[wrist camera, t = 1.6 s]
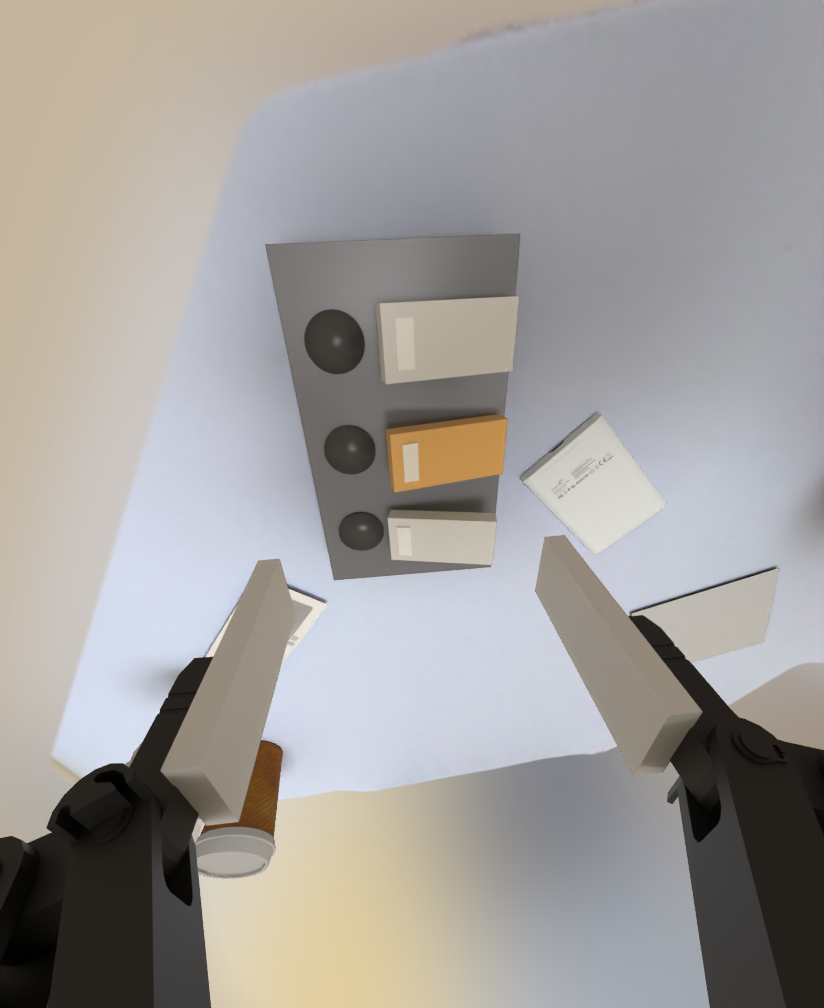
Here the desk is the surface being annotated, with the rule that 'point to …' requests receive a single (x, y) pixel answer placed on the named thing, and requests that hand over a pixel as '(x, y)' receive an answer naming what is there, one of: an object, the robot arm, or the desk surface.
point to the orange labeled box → (446, 451)
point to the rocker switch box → (380, 380)
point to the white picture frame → (303, 620)
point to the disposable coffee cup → (245, 825)
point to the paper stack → (718, 617)
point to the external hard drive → (594, 485)
